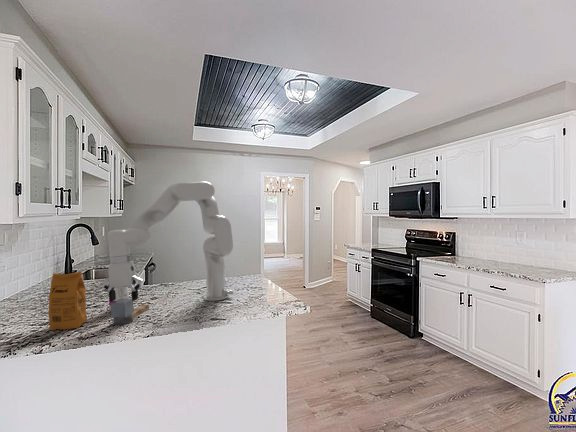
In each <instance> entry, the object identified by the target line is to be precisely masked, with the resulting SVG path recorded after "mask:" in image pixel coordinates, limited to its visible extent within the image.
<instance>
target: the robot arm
mask: <svg viewBox="0 0 576 432" xmlns="http://www.w3.org/2000/svg"><path fill="white" fill-rule="evenodd" d="M215 191H216V190H215V187H214V185H213V184H212V183H211V182H208V181H195V182H193V181H192V182H188V181H187V182H183V181H182V182H177V183H173V184H171V185H169V186H168V187H167V188H166V189H165V190H164V191H163V192H162V194H160V195H159V197H158V198H157V199H156V200H155V201H154V202H153V203H152V205H150V206H149V207H148V208H147V209H145V210H144V212H142V213H141V214H140V215H139V216H137V218H135V219H134V221H132V222H131V224H130V225H129V226H128V227H127V228H126V229H114V230H113V229H112V230H111V231H108V234H107V235H108V236H107V237H108V238H107V239H108V248H109V250H108V251H109V264H108V271H107V273H108V274H107V278H105V279H104V280H102V281H101V284H102V285H103V288H104V289H105V290H106V292H107V293H108V300H109V299H110V302H112V301H113V300H115V299H116V293H115V290H114V288H115V287H128V288H129V289H130V290H132V291H131V293H130V294H131V299H132V301H133V302H134V301H135V302H136V300H138V297H139V292H138V291H139V290H140V289H139V288H141V286H142V285H143V281H144V279H143V278H142V277H141V278H140V277H139V276H137V272H136V267H135V264H134V261H133V260H134V256H133V255H131V247H132V246H145V245H146V244H148V243H149V242H150V241H151V235H152V234H151V233H150V231H149V230H150V229H151V228H152V227H154V226H155V225H156V224H158V223H160V222H163V221H164V220H165V219H168V217H169V216H171V213H172V212H173V211H174V210H175V209H176V208H177V207H178V206H179V204H180V203H181V202H188V201H189V202H190V201H191V202H193V201H195V202H196V203H197V204H198V206H199V208H200V212H201V220H202V227H203V228H202V229H203V231H204V232H205V233H206V234H209V235H214V236H209V237H207V238H206V239H205V240H204V241H203V244H202V250H203V254H204V261H205V262H204V263H205V279H206V282H205V283H206V294H204V295H203V299H204V300H205V301H209V302H217V301H222V300H225V299H228V298H229V296H230V295H234V294H235V293H234V292H235V291H234V290H233V289H228V287H226V271H225V269H226V268H225V267H226V264H225V258H224V257H228V256H230V255H231V253H232V252H233V249H234V242H233V241H234V239H233V233H232V225H231V222H230V220H229V219H228V218H227V217H226V216H224V215H220V212H219V207H218V203H217V200H216V198H215V197H214V196H215V193H216V192H215ZM130 246H131V247H130ZM108 283H109V285H108Z"/></svg>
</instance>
